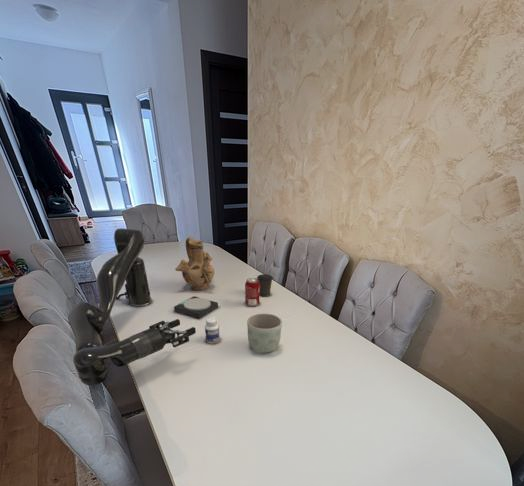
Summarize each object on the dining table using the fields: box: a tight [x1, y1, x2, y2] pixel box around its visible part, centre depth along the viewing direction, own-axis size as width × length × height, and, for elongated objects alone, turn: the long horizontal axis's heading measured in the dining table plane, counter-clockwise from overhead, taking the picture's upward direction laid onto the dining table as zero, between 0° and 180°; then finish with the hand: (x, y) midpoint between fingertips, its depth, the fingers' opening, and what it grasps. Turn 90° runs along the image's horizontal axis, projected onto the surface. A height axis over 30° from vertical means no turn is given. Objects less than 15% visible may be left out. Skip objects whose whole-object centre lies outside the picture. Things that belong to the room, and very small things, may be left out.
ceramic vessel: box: [174, 236, 215, 291], centre depth 157 cm, size 18×19×25 cm
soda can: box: [244, 277, 261, 307], centre depth 144 cm, size 7×7×12 cm
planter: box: [246, 312, 283, 354], centre depth 112 cm, size 12×12×11 cm
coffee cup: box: [256, 273, 274, 297], centre depth 155 cm, size 8×8×10 cm
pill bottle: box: [204, 317, 221, 344], centre depth 116 cm, size 5×5×9 cm
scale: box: [173, 295, 219, 320], centre depth 140 cm, size 14×14×3 cm
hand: (187, 325), depth 105 cm, fingers open, 8 cm apart
